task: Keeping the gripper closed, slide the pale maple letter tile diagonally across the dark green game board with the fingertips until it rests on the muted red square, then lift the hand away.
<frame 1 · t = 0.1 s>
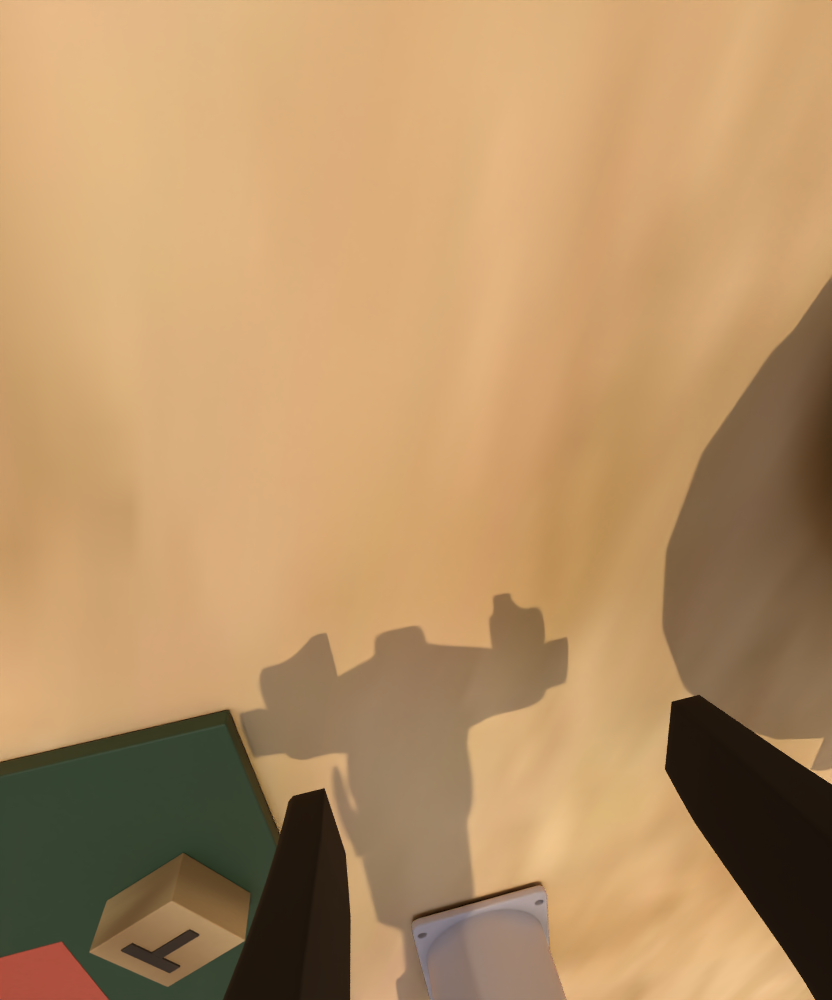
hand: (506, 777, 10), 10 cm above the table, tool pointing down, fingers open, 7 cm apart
letter tile: (181, 896, 24), point 1 cm above the table, touching game board
game board: (41, 958, 25), on the table
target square: (29, 974, 26), resting on game board
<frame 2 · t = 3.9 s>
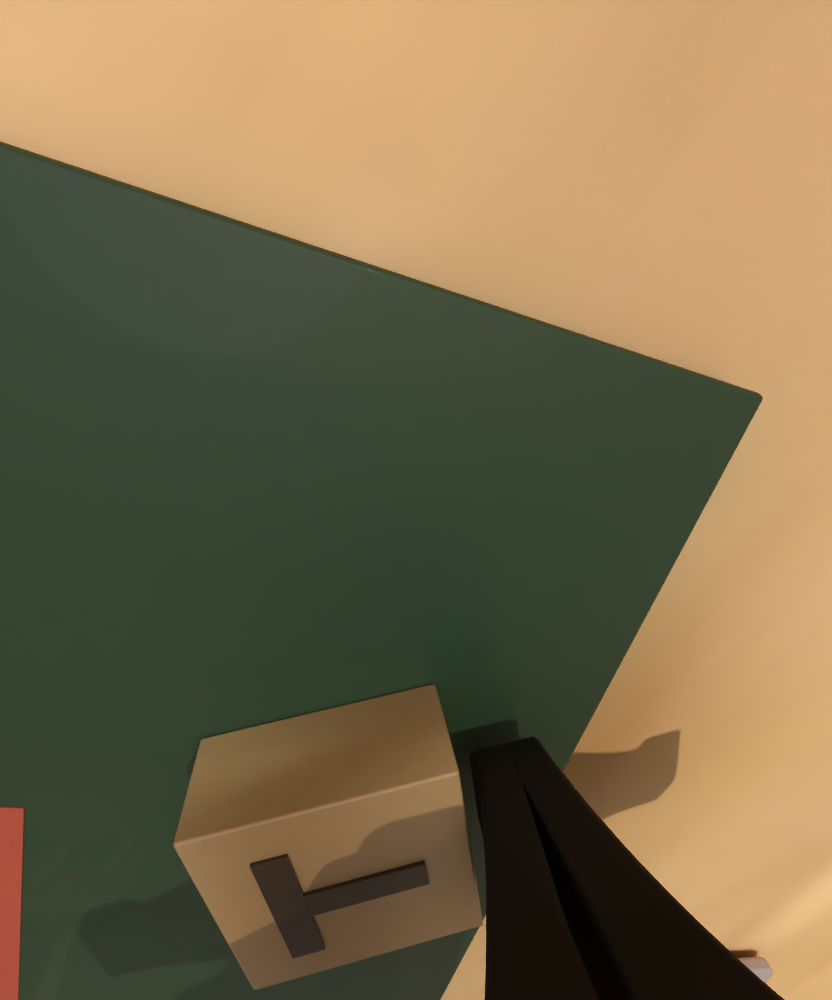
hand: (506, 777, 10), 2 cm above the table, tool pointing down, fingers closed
letter tile: (343, 787, 11), point 1 cm above the table, touching game board, gripper
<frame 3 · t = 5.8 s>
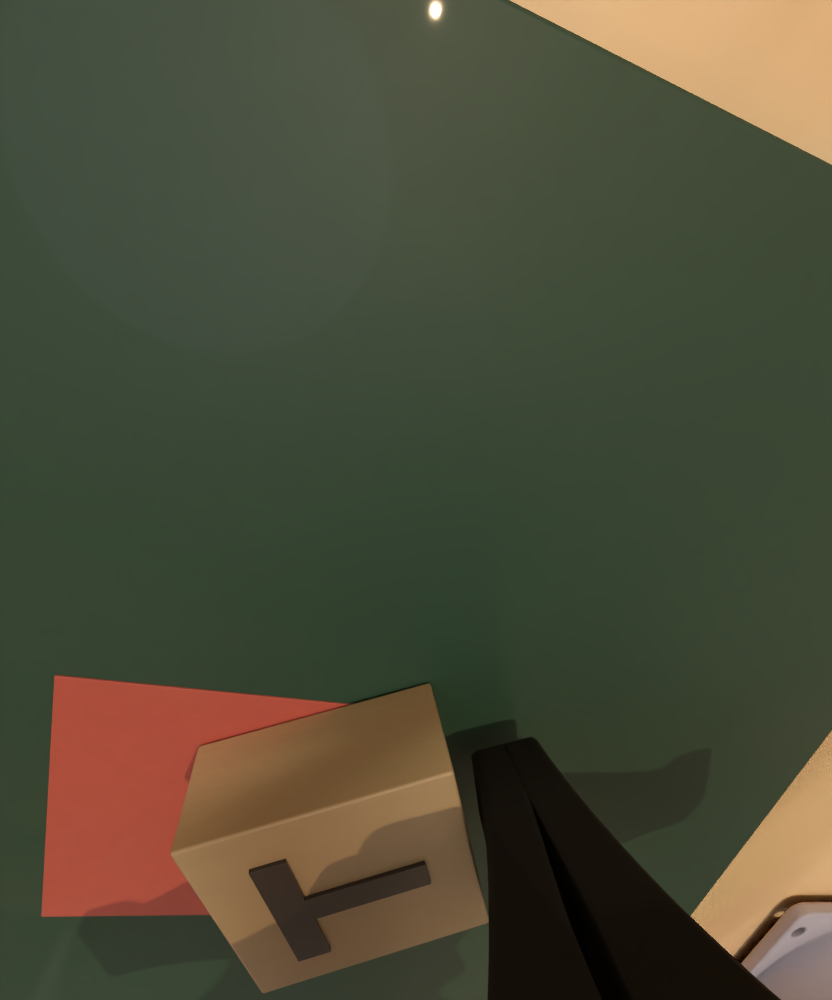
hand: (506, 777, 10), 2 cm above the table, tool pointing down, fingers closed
letter tile: (344, 788, 11), point 1 cm above the table, touching gripper
game board: (288, 750, 11), on the table
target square: (233, 780, 11), resting on game board
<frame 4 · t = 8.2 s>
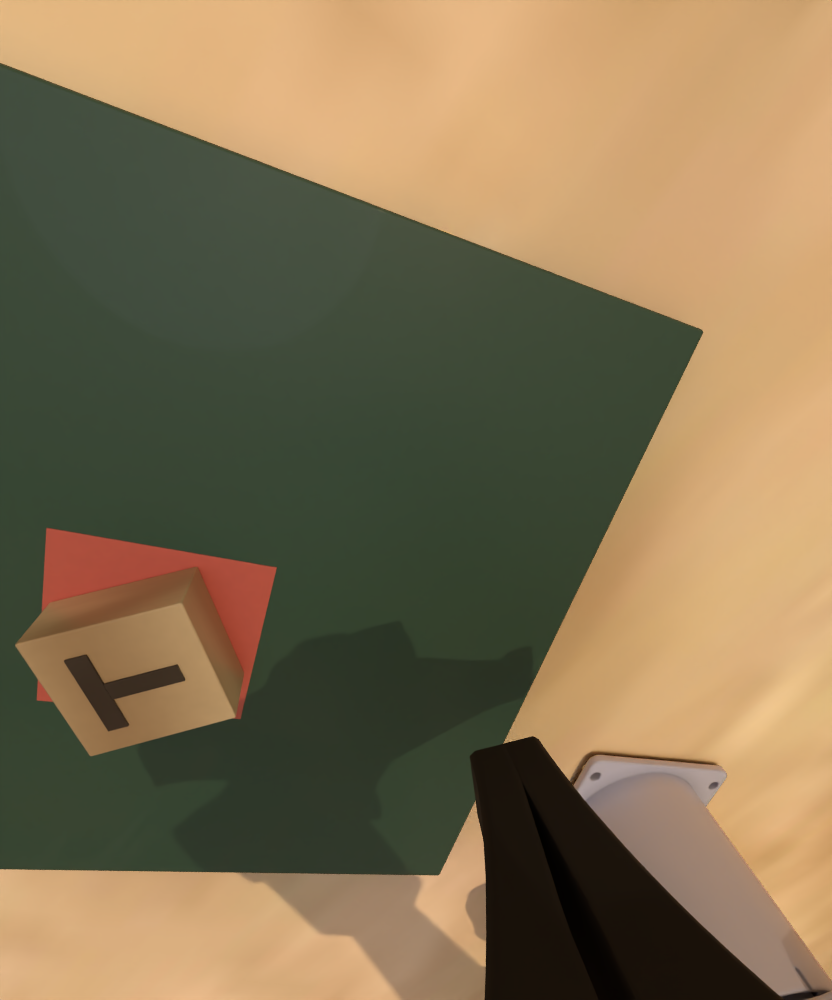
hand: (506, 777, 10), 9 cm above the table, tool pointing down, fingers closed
letter tile: (153, 639, 17), point 1 cm above the table, touching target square
game board: (197, 599, 17), on the table
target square: (162, 619, 17), resting on game board
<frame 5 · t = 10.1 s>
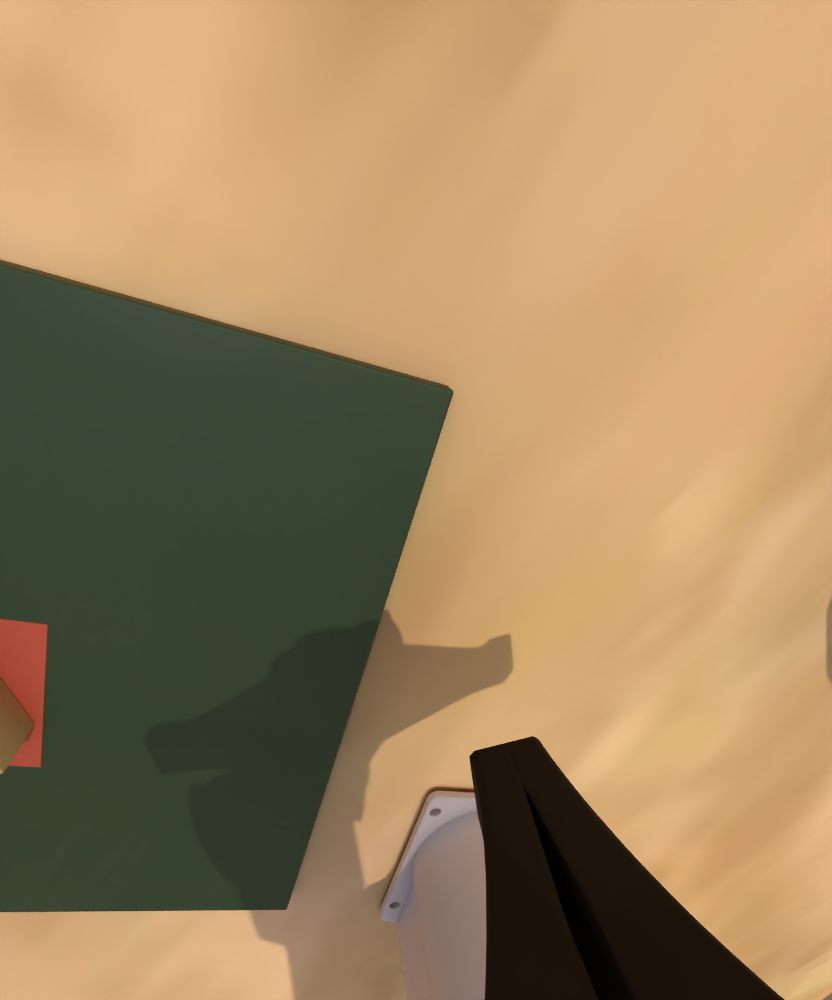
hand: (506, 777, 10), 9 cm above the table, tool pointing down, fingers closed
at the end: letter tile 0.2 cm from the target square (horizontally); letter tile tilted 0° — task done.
